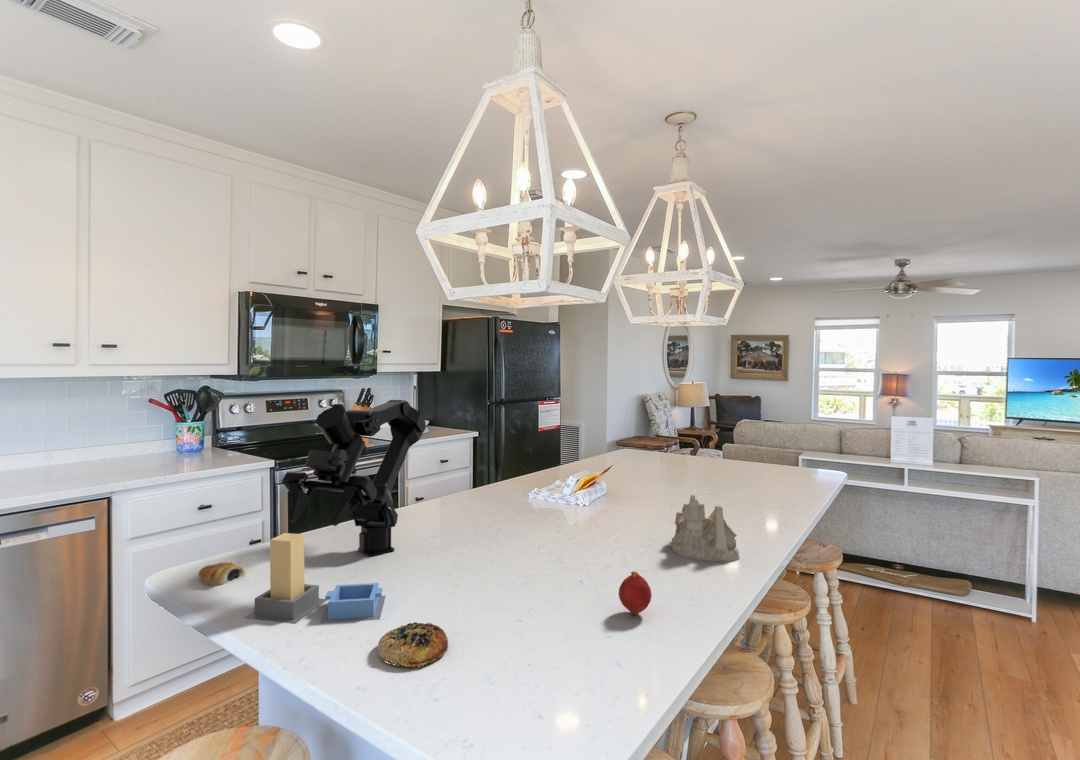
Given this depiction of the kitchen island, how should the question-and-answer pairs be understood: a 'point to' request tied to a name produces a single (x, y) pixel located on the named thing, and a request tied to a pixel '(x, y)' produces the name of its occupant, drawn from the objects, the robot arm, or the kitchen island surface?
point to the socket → (287, 606)
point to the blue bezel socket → (354, 603)
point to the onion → (635, 593)
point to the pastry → (221, 573)
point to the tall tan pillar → (287, 566)
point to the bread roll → (413, 645)
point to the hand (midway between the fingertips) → (312, 523)
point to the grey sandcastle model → (703, 534)
